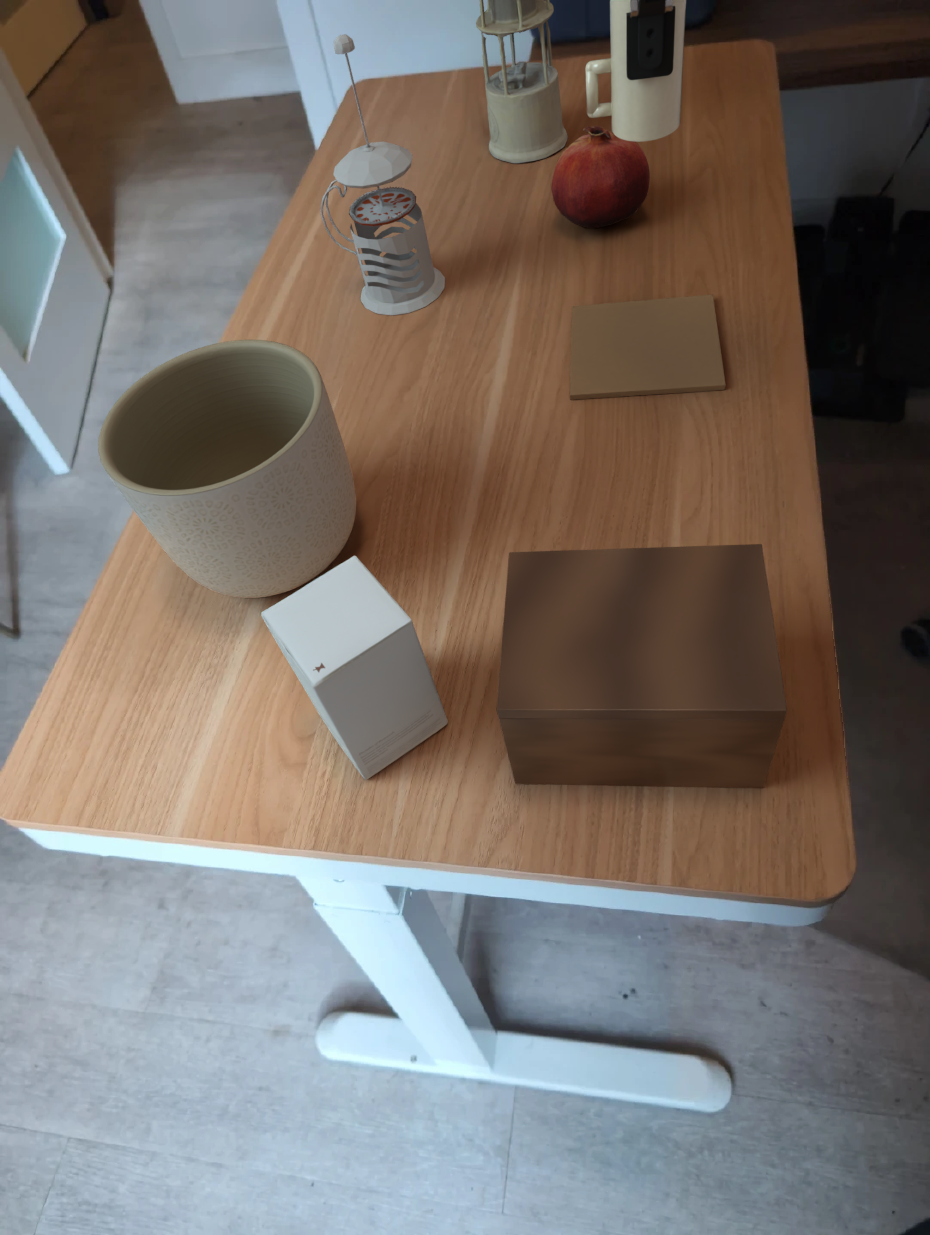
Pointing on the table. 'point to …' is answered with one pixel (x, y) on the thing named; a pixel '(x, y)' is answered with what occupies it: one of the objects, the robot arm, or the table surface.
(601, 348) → the mat
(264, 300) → the table surface
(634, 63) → the robot arm
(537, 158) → the lamp
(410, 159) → the french press
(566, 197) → the fruit
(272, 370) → the planter
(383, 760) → the white packaging box
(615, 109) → the cream mug
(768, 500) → the table surface
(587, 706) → the brown lidded box
